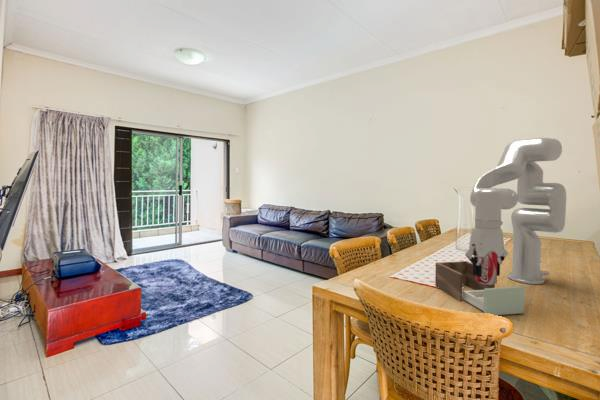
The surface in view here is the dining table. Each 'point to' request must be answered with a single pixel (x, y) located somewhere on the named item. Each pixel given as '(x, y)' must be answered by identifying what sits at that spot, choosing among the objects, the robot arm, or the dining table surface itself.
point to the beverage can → (488, 269)
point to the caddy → (457, 278)
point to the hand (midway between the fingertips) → (486, 274)
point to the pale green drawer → (497, 300)
